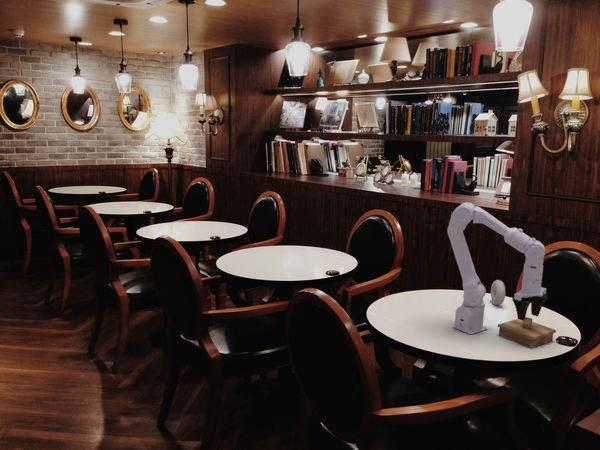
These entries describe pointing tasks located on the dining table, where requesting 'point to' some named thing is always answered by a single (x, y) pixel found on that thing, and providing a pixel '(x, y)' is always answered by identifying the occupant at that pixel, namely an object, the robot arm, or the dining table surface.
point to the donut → (498, 292)
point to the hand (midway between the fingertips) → (528, 317)
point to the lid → (526, 328)
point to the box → (525, 340)
